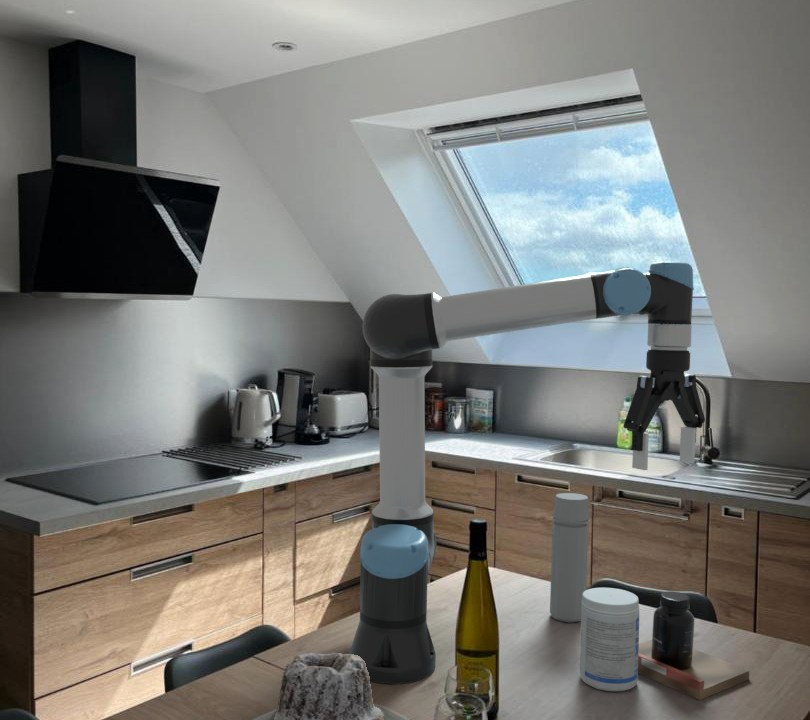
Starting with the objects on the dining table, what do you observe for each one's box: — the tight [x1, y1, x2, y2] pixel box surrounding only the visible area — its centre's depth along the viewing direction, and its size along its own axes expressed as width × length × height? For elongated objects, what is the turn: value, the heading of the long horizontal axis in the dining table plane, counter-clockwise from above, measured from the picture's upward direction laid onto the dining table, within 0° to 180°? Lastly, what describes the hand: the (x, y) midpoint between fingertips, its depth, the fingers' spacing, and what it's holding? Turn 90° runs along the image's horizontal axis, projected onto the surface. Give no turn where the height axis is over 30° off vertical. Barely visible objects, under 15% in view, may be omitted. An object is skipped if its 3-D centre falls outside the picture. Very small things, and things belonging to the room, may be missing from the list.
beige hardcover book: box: [638, 639, 750, 701], centre depth 146 cm, size 18×14×3 cm
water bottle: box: [549, 492, 591, 623], centre depth 171 cm, size 9×8×25 cm
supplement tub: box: [579, 587, 640, 692], centre depth 141 cm, size 10×10×15 cm
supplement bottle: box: [651, 590, 695, 670], centre depth 145 cm, size 7×7×12 cm
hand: (664, 465), depth 152 cm, fingers open, 13 cm apart
